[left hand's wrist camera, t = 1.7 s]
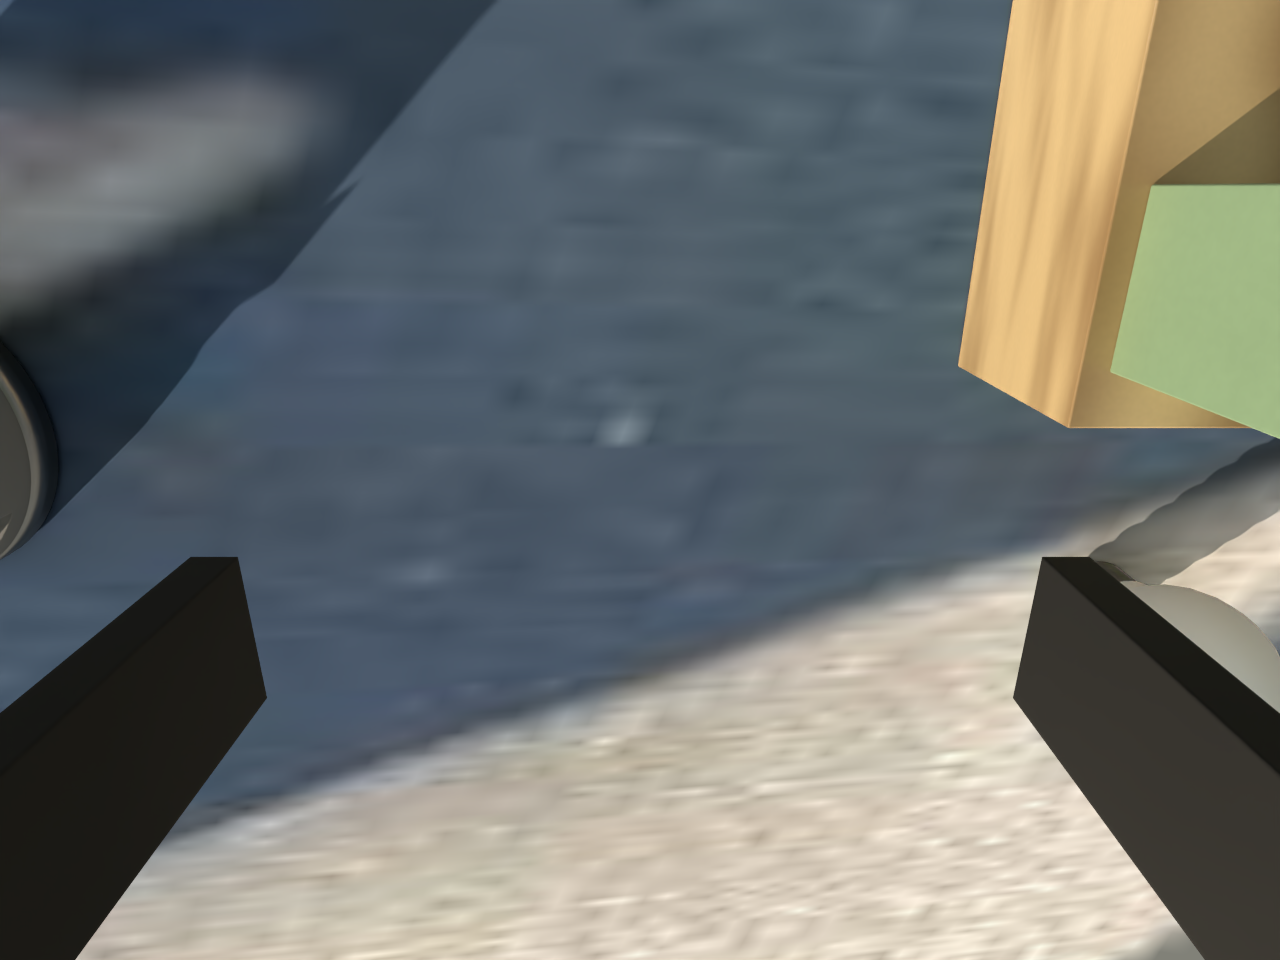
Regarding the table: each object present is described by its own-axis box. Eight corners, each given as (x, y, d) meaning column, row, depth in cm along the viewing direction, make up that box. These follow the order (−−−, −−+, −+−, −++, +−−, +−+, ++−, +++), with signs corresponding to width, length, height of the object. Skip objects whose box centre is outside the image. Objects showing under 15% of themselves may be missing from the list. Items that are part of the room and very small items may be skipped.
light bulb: (1004, 603, 41) (1128, 744, 30) (1103, 509, 39) (1272, 626, 28) (1089, 668, 42) (1235, 824, 32) (1189, 581, 40) (1379, 717, 30)
